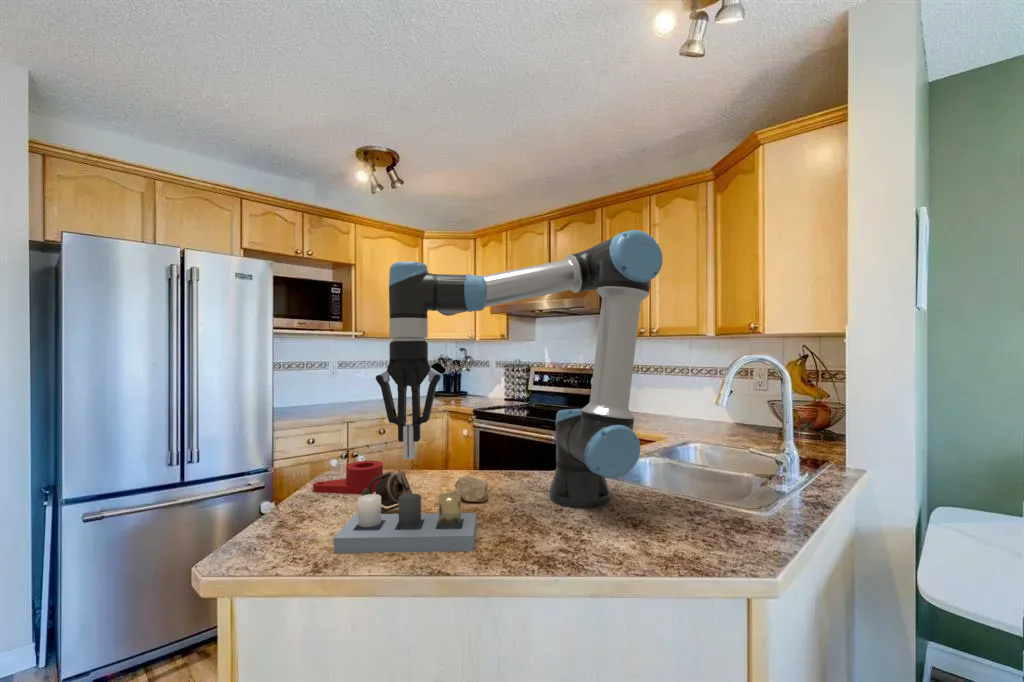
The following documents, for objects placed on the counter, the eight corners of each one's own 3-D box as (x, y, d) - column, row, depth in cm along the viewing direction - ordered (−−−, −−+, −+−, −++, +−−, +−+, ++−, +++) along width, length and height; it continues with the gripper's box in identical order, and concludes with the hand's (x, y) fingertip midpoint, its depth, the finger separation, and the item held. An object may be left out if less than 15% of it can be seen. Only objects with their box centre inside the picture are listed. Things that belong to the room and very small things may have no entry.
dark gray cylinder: (422, 517, 96) (422, 493, 96) (419, 526, 92) (418, 500, 92) (401, 518, 96) (401, 493, 96) (396, 526, 91) (396, 500, 91)
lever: (385, 483, 131) (385, 460, 131) (379, 494, 122) (379, 469, 122) (318, 486, 129) (318, 462, 129) (307, 497, 120) (307, 471, 120)
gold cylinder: (461, 517, 96) (461, 492, 96) (460, 525, 92) (459, 499, 92) (440, 517, 96) (440, 493, 96) (437, 525, 92) (437, 500, 92)
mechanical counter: (401, 522, 103) (401, 476, 103) (348, 518, 105) (348, 474, 105) (415, 510, 110) (414, 468, 110) (365, 507, 112) (364, 465, 112)
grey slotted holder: (476, 526, 100) (476, 512, 100) (473, 551, 88) (473, 535, 88) (354, 528, 99) (354, 514, 99) (334, 554, 87) (333, 538, 87)
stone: (486, 492, 124) (487, 475, 125) (487, 503, 114) (489, 485, 114) (454, 490, 124) (456, 472, 124) (453, 501, 113) (455, 482, 113)
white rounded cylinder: (383, 518, 96) (383, 493, 96) (377, 526, 91) (377, 501, 91) (362, 518, 96) (361, 494, 96) (355, 527, 91) (355, 501, 91)
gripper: (444, 339, 98) (445, 452, 98) (379, 340, 97) (380, 453, 97) (439, 339, 90) (440, 462, 90) (369, 340, 90) (370, 463, 90)
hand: (409, 457), depth 94 cm, fingers closed
